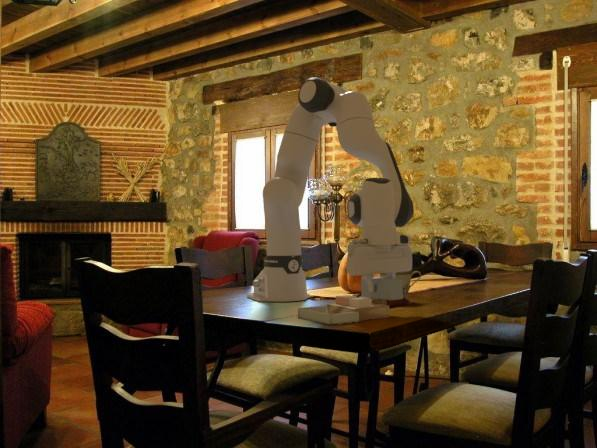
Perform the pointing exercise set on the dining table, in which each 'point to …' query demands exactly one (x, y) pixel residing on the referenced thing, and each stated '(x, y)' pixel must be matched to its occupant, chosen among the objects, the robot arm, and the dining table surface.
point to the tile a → (344, 299)
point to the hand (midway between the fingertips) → (380, 290)
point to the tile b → (360, 302)
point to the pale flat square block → (361, 311)
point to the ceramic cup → (404, 280)
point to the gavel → (387, 301)
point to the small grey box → (383, 288)
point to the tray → (326, 315)
